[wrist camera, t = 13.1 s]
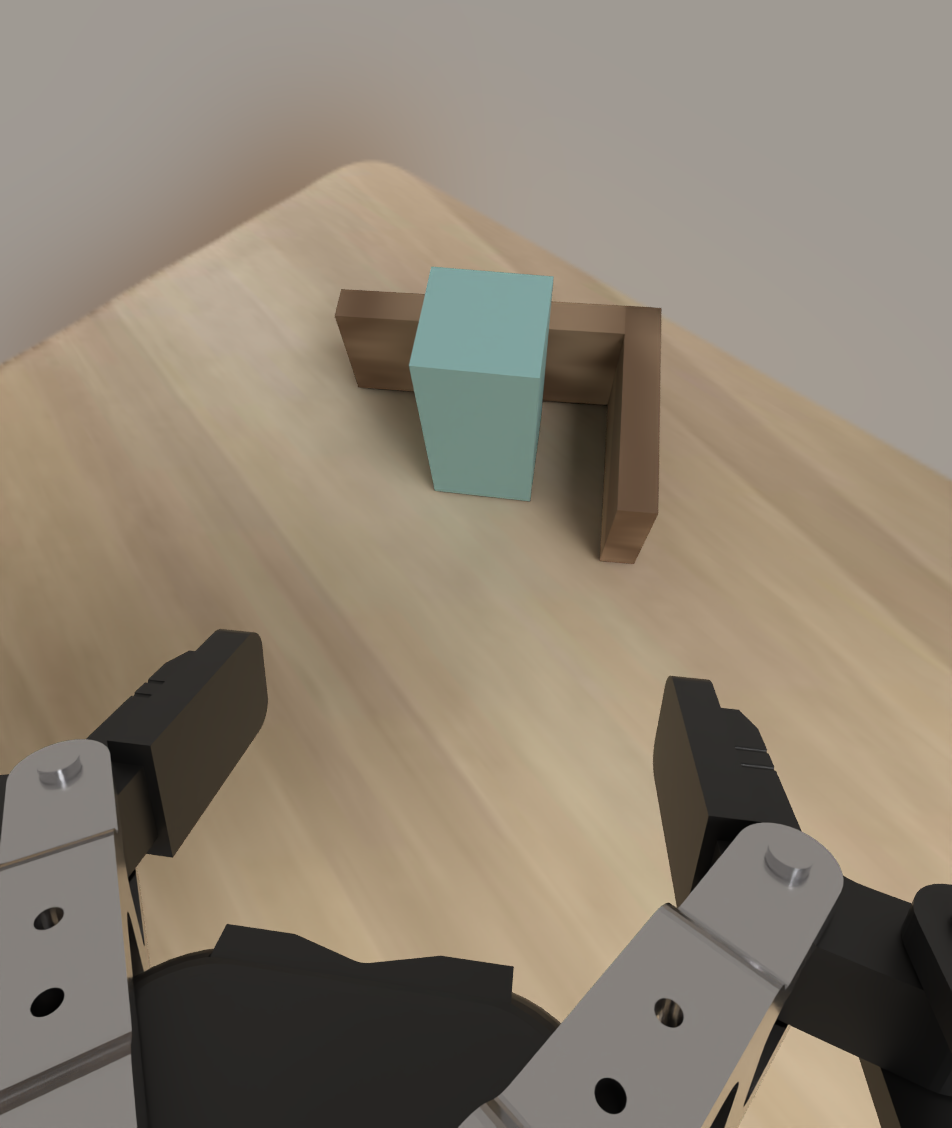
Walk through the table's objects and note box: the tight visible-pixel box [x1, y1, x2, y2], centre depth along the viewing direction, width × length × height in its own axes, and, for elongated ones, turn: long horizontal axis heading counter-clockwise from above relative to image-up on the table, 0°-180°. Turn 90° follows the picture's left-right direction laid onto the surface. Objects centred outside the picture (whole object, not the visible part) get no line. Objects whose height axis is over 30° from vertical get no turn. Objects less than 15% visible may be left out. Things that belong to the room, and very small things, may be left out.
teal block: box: [409, 267, 553, 501], centre depth 27 cm, size 4×4×9 cm
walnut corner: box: [335, 289, 661, 564], centre depth 29 cm, size 14×10×5 cm
